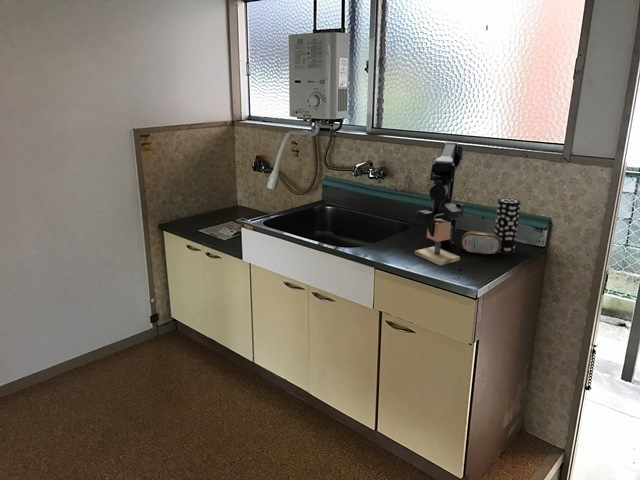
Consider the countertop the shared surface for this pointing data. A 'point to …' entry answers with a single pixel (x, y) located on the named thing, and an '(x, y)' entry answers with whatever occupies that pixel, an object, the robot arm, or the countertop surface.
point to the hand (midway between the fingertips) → (438, 235)
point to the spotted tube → (507, 223)
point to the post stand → (437, 255)
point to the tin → (481, 242)
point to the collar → (440, 231)
